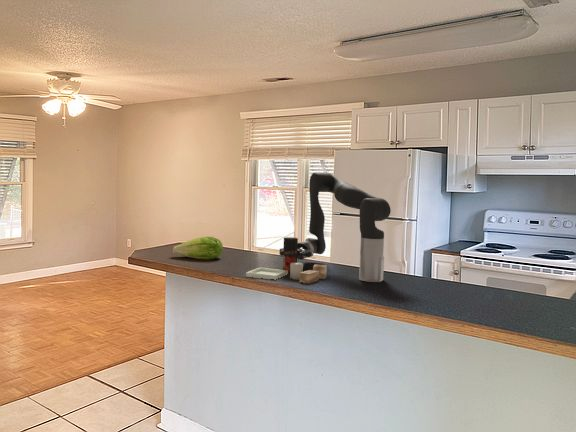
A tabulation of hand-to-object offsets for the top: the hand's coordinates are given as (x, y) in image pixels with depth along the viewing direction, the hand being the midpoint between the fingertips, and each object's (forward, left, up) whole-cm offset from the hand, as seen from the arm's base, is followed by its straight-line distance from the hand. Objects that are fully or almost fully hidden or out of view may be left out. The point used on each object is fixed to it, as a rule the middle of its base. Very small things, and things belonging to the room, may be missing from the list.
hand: (290, 254), depth 205 cm
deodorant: (0, 0, -8) cm, 8 cm away
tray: (+6, +10, -8) cm, 14 cm away
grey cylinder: (-6, +9, -8) cm, 14 cm away
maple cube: (-14, +2, -8) cm, 16 cm away
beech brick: (-13, +12, -8) cm, 20 cm away
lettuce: (+54, -14, -8) cm, 56 cm away
